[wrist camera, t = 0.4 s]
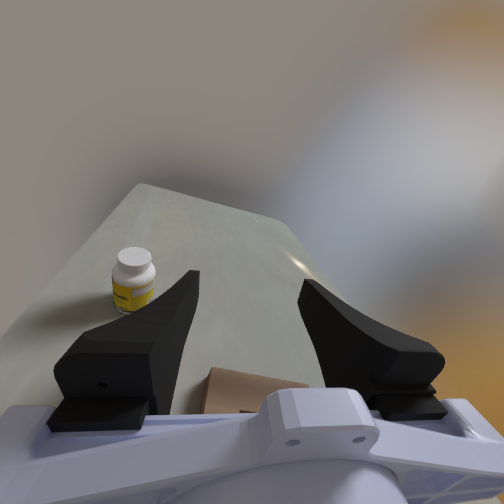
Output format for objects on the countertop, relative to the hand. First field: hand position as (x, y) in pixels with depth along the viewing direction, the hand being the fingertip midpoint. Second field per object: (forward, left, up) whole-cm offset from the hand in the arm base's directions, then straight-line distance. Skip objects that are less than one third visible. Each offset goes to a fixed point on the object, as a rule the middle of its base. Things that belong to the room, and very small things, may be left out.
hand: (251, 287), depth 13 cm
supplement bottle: (+12, +13, -21) cm, 27 cm away
